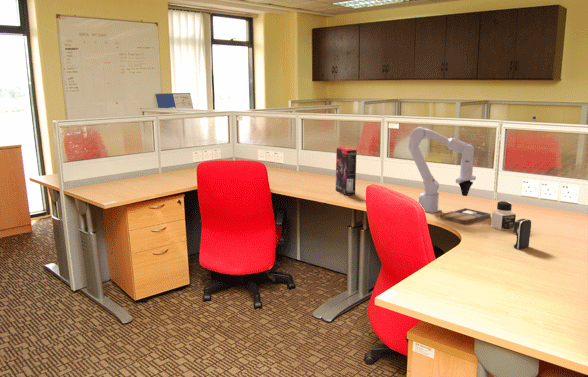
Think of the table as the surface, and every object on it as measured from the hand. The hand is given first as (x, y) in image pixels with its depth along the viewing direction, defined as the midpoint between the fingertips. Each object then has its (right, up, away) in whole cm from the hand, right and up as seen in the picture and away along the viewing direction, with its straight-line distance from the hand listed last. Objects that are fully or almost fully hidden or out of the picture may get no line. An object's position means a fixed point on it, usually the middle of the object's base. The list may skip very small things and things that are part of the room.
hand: (464, 195), depth 234 cm
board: (-6, -12, -9) cm, 16 cm away
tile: (+1, -10, -4) cm, 11 cm away
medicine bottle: (+9, -15, -22) cm, 28 cm away
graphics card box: (-54, +1, +52) cm, 75 cm away
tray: (+2, -10, -3) cm, 11 cm away
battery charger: (+4, -20, -48) cm, 52 cm away
